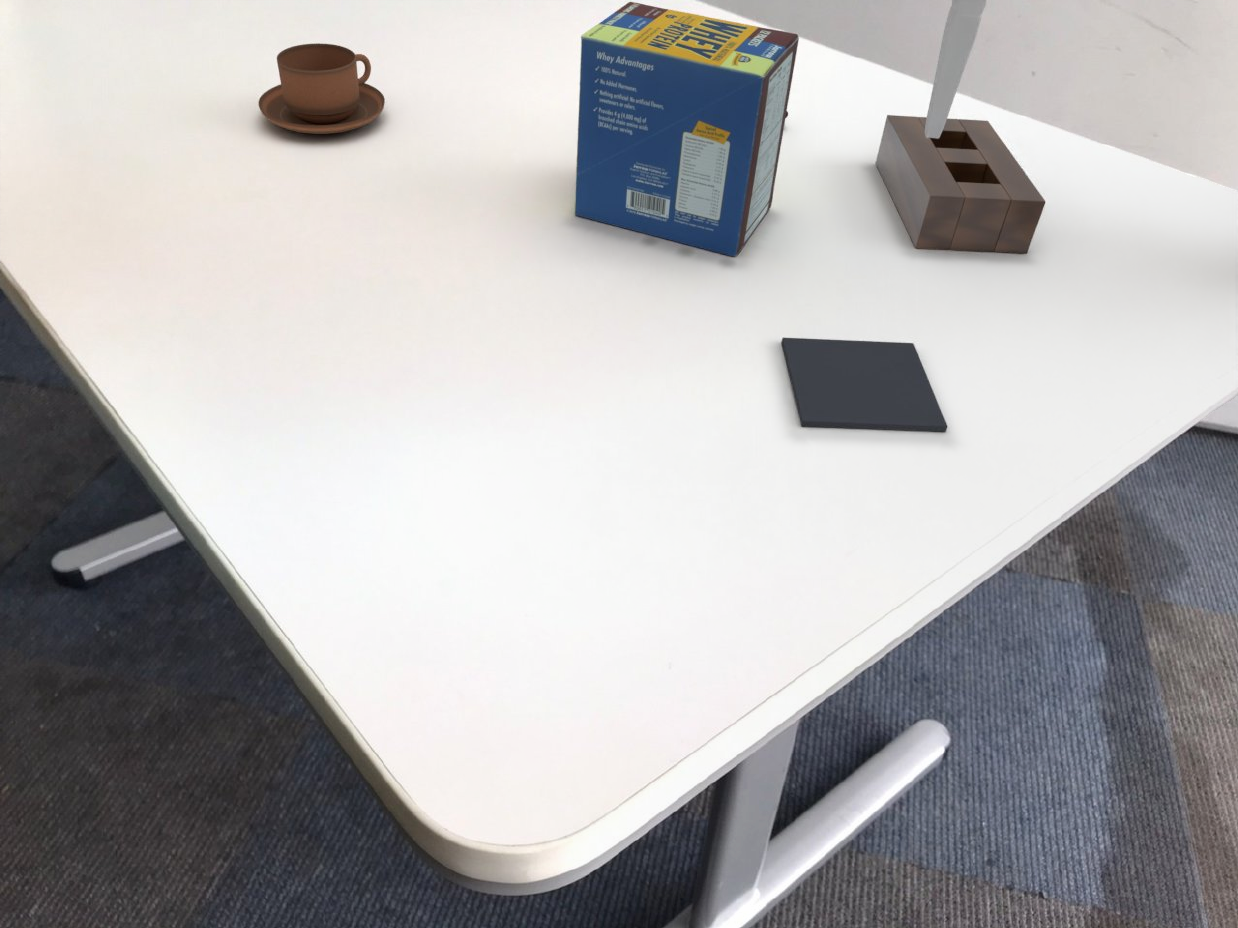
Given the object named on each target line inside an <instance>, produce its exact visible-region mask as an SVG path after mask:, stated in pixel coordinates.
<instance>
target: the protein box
mask: <svg viewBox="0 0 1238 928" xmlns="http://www.w3.org/2000/svg"><path fill="white" fill-rule="evenodd" d="M799 40H800V38H799V35H798V34H797V33H793V32H789V31H785V30H784V31H783V30H778V29H772V28H768V27H767V28H766V27H762V26H761V27H760V26H756V25H751V24H745V23H741V22H735V21H730V20H726V19H721V18H715V17H709V16H705V15H700V14H696V13H690V12H684V11H679V10H675V9H674V10H673V9H668V8H662V7H658V6H655V5H653V6H652V5H649V4H644V3H639V2H634V1H628V2H627V3H626V4H624V5H623V6H621V7H620V8H619V9H617V10H615V11H614V12H613V13H611V14H610V15H609V16H607V17H605V19H603V20H601V22H599V23H597V24H595V25H594V26H593V27H591V28H590V29H589V30H587V31H586V32H584V33H583V34H582V35H581V36H580V65H579V66H580V69H579V95H578V116H577V117H578V121H577V144H576V166H575V167H576V169H575V191H574V212H573V213H574V215H575V216H578V217H581V218H585V219H589V220H593V221H597V222H601V223H605V224H607V225H612V226H616V227H620V228H623V229H627V230H631V231H635V232H639V233H642V234H647V235H650V236H652V237H653V236H654V237H657V238H661V239H664V240H669V241H673V242H677V243H681V244H685V245H688V246H691V247H696V248H699V249H702V250H706V251H710V252H714V253H719V254H722V255H726V256H730V257H737V256H738V255H739V253H740V252H741V251H742V249H743V248H744V246H745V245H746V244H747V242H748V241H749V239H750V237H751V236H752V235H753V234H754V232H755V231H756V229H757V228H758V226H759V225H760V223H761V222H762V221H763V220H764V218H765V216H766V215H767V213H768V212H769V210H770V209H771V207H772V203H773V198H774V190H775V184H776V178H777V171H778V165H779V160H780V154H781V146H782V142H783V140H782V139H783V135H784V130H785V122H786V112H788V103H789V100H790V94H791V89H792V84H793V83H792V81H793V76H794V71H795V70H794V69H795V64H796V59H797V58H796V57H797V52H798V46H799Z"/></svg>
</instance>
